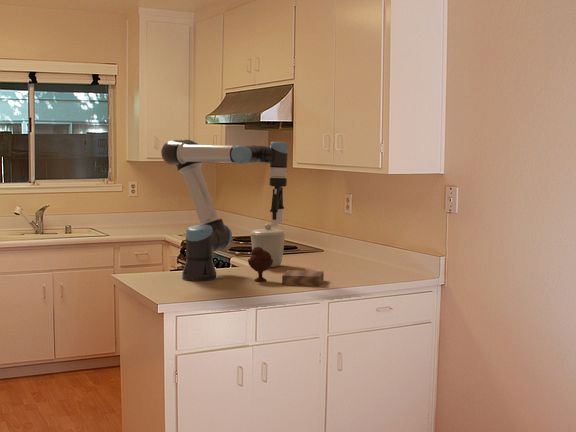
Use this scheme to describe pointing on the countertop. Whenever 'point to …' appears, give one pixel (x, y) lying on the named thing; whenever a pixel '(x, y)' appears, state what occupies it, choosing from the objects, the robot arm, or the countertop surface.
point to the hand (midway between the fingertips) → (276, 225)
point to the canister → (269, 242)
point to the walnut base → (303, 278)
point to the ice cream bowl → (260, 262)
